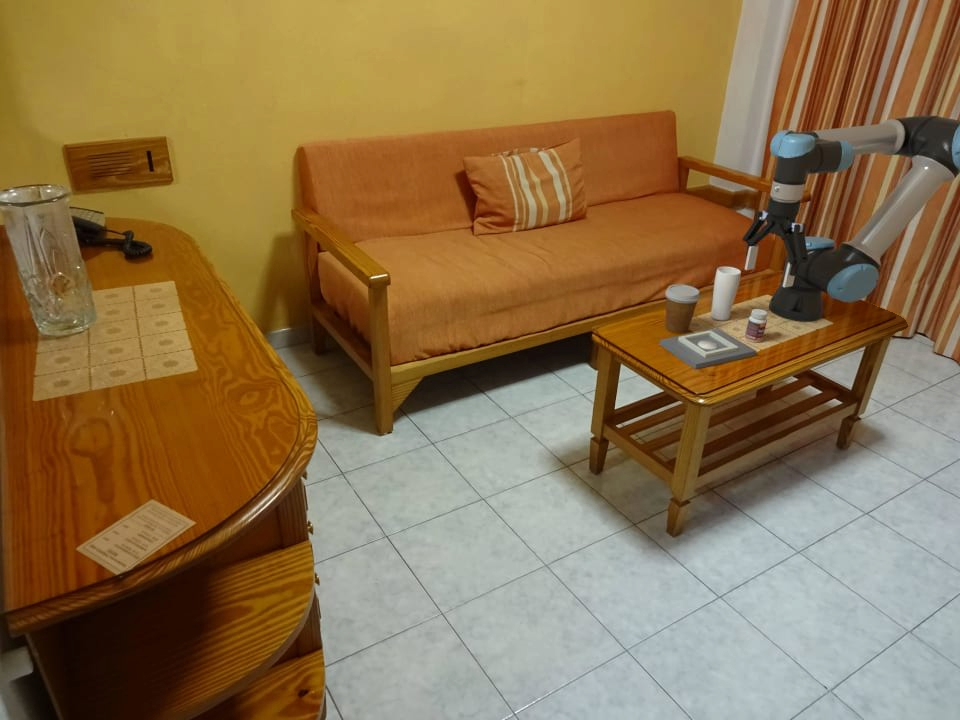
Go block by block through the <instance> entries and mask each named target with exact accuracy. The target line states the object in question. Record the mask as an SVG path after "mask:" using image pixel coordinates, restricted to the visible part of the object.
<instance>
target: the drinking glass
mask: <svg viewBox="0 0 960 720" xmlns="http://www.w3.org/2000/svg"><path fill="white" fill-rule="evenodd" d="M741 273H742V271H741V270H740V269H739V268H736V267H733V266H719V267H717V269H716V273H715V277H714V282H713V295H712V301H711V302H712V303H711V311H710V317H711V319H714V320H716V321H721V322H723V321H727V320H729V319H730V316H731V311H732V308H733V305H734V301H735V298H736V296H737V293H738V288H739V286H740V280H741Z"/></svg>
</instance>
